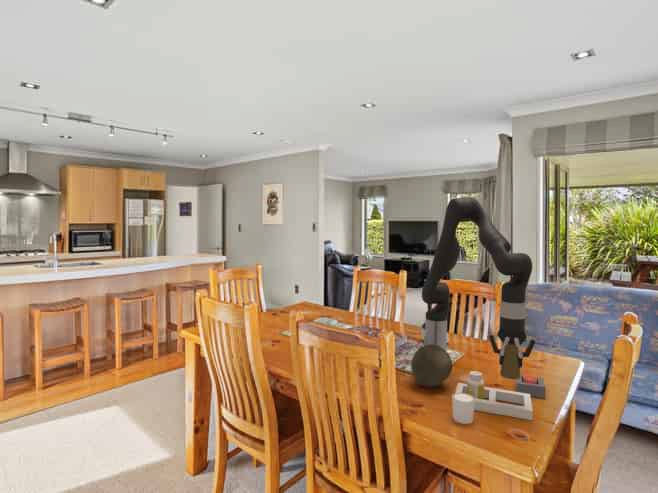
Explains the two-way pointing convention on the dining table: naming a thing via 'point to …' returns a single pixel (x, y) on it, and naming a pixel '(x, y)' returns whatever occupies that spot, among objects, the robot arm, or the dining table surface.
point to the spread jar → (424, 333)
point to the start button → (530, 379)
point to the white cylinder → (463, 407)
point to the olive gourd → (510, 362)
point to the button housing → (531, 387)
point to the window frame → (502, 408)
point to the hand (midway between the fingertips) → (510, 367)
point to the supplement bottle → (475, 385)
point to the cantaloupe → (431, 365)
